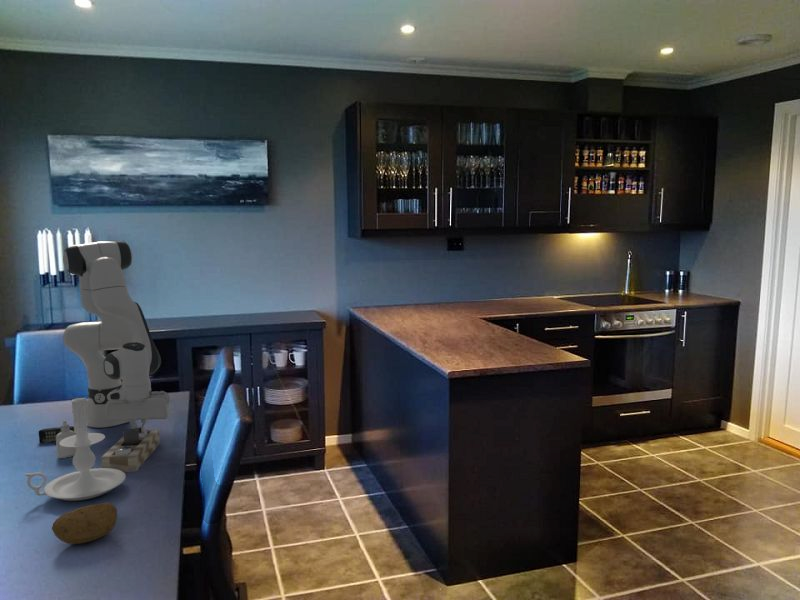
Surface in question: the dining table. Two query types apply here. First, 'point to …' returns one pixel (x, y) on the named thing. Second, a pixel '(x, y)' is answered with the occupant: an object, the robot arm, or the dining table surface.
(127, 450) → the steel knob
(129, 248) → the robot arm
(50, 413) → the dining table surface
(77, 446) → the candlestick
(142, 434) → the steel knob
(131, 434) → the black knob middle
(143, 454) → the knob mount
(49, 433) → the mobile phone
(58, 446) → the eye dropper bottle
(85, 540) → the potato
